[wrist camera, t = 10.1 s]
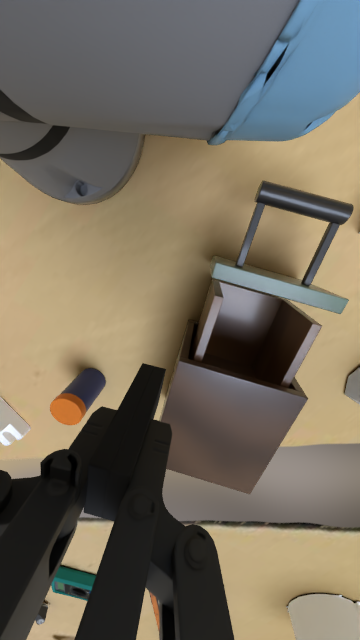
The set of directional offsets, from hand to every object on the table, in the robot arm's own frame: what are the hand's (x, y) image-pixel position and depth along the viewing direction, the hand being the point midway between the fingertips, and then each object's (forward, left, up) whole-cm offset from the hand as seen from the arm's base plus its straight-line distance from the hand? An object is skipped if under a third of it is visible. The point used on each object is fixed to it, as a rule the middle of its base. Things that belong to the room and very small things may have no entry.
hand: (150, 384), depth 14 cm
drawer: (-7, +5, -15) cm, 17 cm away
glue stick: (+18, -5, -16) cm, 24 cm away
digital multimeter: (+77, +21, -16) cm, 81 cm away
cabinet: (+5, +9, -16) cm, 19 cm away
